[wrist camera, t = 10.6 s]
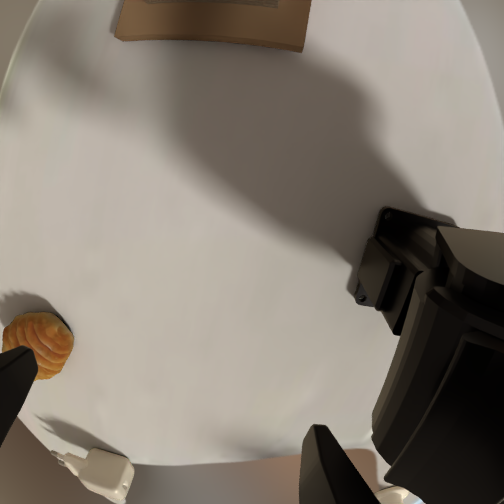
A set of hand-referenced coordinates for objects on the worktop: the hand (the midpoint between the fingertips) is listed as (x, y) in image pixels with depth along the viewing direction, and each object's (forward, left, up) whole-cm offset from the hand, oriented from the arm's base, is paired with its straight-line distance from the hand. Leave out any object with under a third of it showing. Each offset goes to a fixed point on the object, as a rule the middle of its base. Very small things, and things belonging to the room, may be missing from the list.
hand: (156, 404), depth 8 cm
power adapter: (+14, +31, -12) cm, 36 cm away
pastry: (+17, +12, -12) cm, 24 cm away
